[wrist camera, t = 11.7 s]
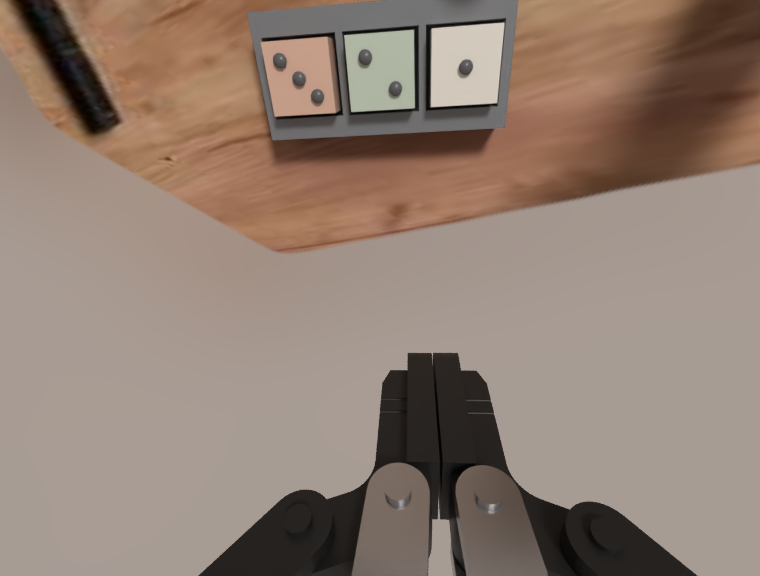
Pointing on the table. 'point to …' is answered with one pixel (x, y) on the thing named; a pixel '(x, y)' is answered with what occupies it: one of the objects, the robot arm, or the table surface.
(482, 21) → the well board
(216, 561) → the robot arm
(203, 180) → the table surface
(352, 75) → the tile two
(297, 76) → the tile three
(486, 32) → the tile one
